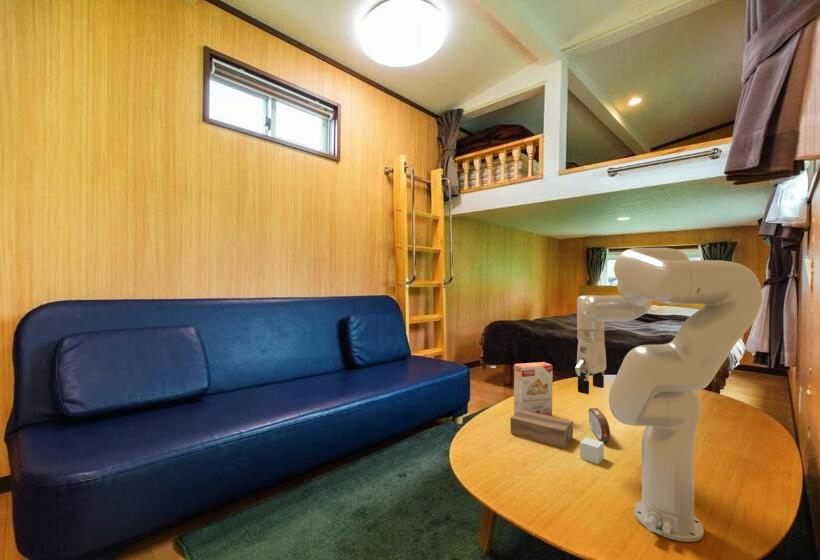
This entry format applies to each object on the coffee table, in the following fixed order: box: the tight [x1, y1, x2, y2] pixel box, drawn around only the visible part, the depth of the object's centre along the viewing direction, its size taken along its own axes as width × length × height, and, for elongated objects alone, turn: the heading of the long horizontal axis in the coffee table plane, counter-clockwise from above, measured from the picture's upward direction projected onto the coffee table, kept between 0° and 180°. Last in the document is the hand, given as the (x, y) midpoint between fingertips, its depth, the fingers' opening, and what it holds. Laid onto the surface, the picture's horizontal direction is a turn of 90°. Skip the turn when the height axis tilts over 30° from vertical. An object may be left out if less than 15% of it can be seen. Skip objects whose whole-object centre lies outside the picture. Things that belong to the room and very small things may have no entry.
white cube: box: [579, 436, 605, 465], centre depth 108 cm, size 5×5×5 cm
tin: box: [588, 407, 611, 443], centre depth 123 cm, size 15×3×8 cm, turn 168°
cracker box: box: [513, 361, 554, 417], centre depth 140 cm, size 14×6×21 cm, turn 105°
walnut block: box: [510, 409, 574, 450], centre depth 123 cm, size 10×18×6 cm, turn 50°
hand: (591, 389), depth 110 cm, fingers open, 9 cm apart
